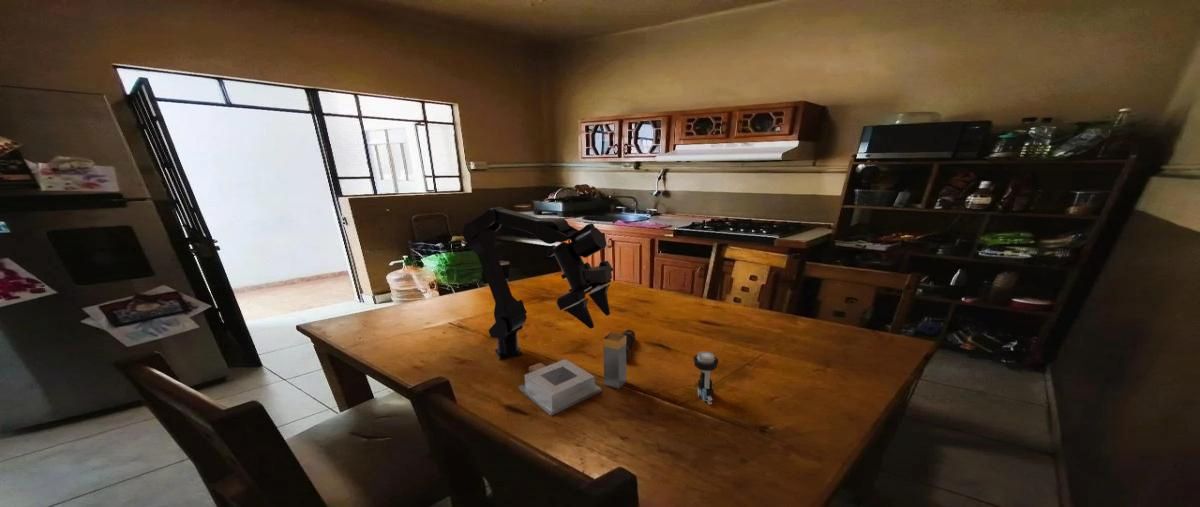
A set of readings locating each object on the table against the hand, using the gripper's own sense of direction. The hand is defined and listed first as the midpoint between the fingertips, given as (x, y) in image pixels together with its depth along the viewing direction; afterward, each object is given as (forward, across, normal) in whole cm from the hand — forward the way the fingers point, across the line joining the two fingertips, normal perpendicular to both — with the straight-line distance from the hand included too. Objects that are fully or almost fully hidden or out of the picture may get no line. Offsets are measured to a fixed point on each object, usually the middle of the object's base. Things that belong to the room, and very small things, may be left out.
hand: (600, 321), depth 95 cm
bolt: (+13, +15, +6) cm, 21 cm away
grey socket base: (+9, -10, +14) cm, 19 cm away
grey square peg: (+15, -3, +2) cm, 15 cm away
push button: (+25, -1, -16) cm, 30 cm away
